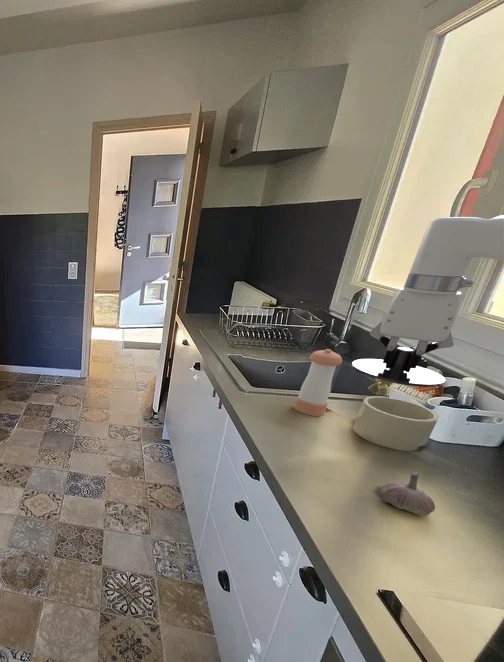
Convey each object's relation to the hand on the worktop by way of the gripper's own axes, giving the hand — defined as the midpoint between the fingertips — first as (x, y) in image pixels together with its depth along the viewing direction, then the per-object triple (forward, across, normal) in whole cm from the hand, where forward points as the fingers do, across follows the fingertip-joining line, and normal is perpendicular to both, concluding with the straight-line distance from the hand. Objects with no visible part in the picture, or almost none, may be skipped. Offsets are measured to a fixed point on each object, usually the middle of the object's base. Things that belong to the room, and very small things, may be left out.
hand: (397, 368), depth 84 cm
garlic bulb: (+23, -7, +17) cm, 30 cm away
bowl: (+23, -4, -16) cm, 28 cm away
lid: (+1, 0, 0) cm, 1 cm away
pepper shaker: (+23, +13, -20) cm, 33 cm away
